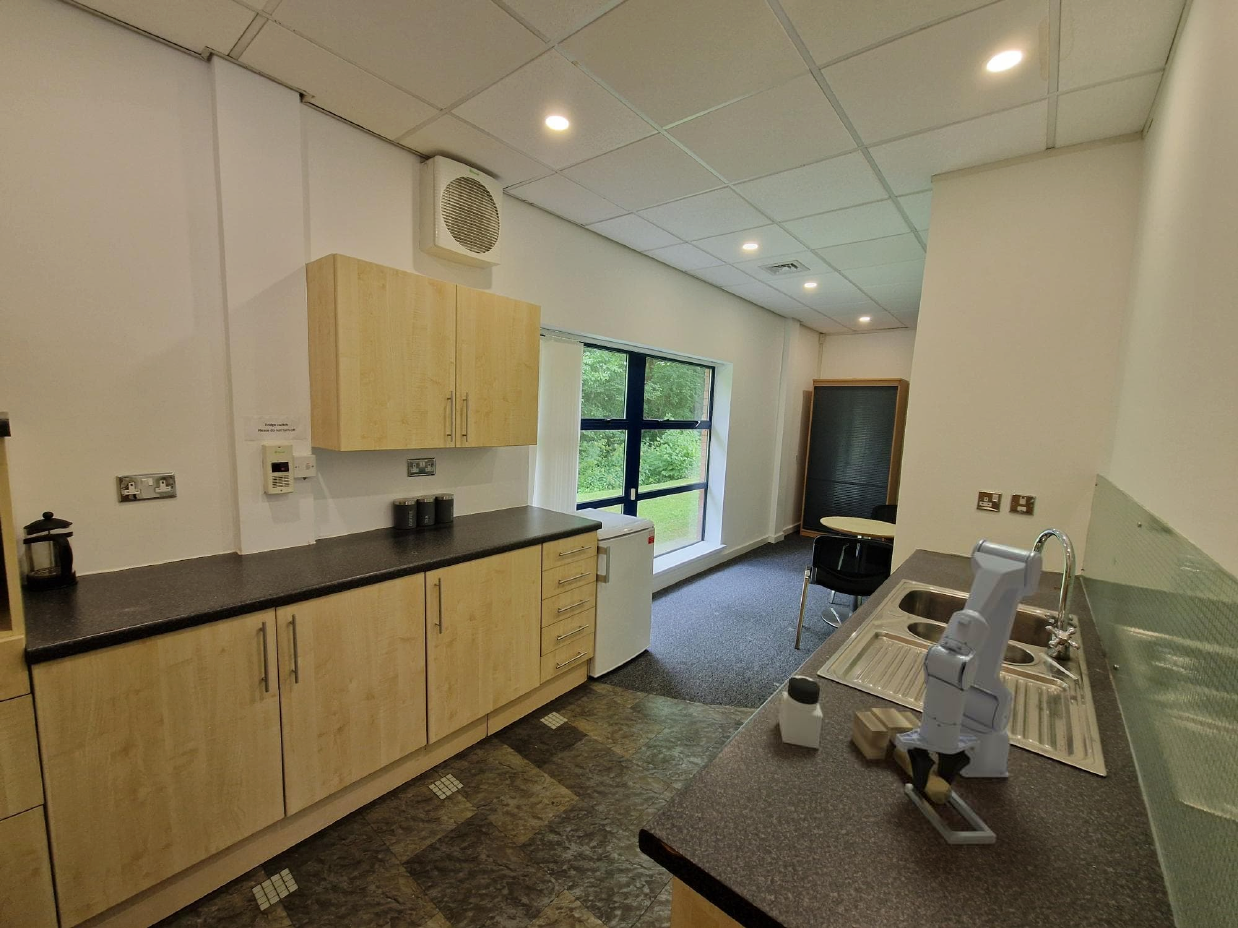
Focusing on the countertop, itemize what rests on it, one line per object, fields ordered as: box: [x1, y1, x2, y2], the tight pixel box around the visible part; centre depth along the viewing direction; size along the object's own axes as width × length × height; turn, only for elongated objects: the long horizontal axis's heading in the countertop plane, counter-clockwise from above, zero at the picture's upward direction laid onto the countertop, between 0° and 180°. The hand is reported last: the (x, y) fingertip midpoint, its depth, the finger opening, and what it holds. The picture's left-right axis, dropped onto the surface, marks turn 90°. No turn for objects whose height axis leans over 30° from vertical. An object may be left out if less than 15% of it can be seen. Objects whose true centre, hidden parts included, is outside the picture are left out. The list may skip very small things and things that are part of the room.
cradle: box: [904, 783, 997, 845], centre depth 84 cm, size 8×11×1 cm
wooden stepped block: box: [850, 707, 921, 760], centre depth 100 cm, size 12×6×7 cm, turn 95°
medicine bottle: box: [778, 675, 824, 750], centre depth 102 cm, size 7×7×12 cm
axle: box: [893, 746, 953, 805], centre depth 90 cm, size 10×4×4 cm, turn 5°
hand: (930, 785), depth 88 cm, fingers closed on axle, 4 cm apart
